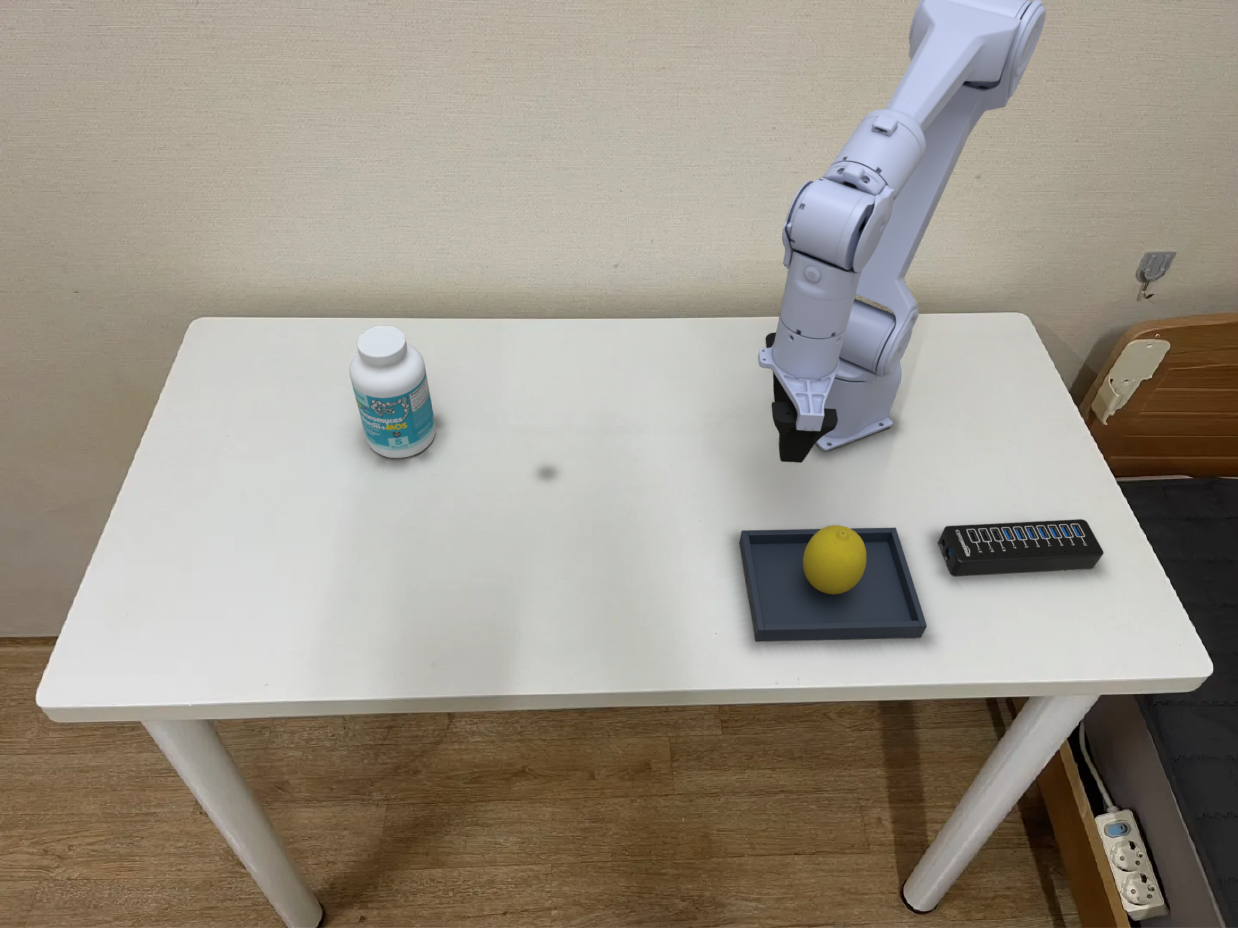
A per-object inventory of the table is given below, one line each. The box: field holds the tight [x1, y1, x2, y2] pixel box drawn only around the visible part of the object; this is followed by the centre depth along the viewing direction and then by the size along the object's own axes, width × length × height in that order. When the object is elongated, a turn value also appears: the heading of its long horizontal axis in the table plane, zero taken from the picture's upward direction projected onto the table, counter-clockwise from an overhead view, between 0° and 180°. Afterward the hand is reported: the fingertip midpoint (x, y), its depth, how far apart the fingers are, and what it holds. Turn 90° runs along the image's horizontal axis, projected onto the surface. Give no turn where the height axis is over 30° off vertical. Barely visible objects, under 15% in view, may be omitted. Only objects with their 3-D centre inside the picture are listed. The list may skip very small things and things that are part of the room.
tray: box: [738, 527, 928, 643], centre depth 83 cm, size 15×11×2 cm
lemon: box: [803, 524, 866, 594], centre depth 81 cm, size 6×6×8 cm
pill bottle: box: [348, 325, 436, 459], centre depth 91 cm, size 8×7×14 cm
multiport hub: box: [937, 518, 1105, 577], centre depth 86 cm, size 4×14×2 cm, turn 95°
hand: (788, 430), depth 85 cm, fingers open, 7 cm apart
